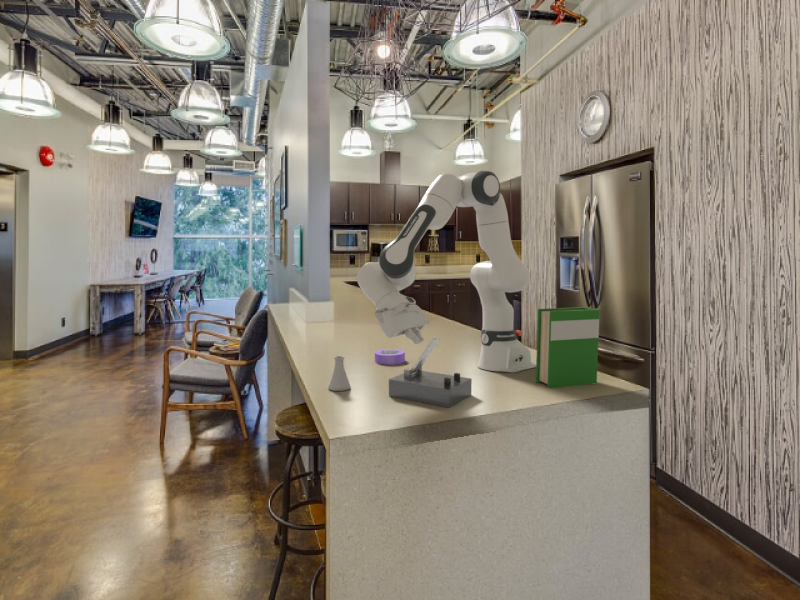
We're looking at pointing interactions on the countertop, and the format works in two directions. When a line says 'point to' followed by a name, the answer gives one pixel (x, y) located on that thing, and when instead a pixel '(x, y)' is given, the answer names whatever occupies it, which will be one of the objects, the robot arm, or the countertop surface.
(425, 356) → the switch lever
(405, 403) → the countertop surface
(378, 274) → the robot arm
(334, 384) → the flask
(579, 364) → the hardback book
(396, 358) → the masking tape
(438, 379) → the lever switch box
